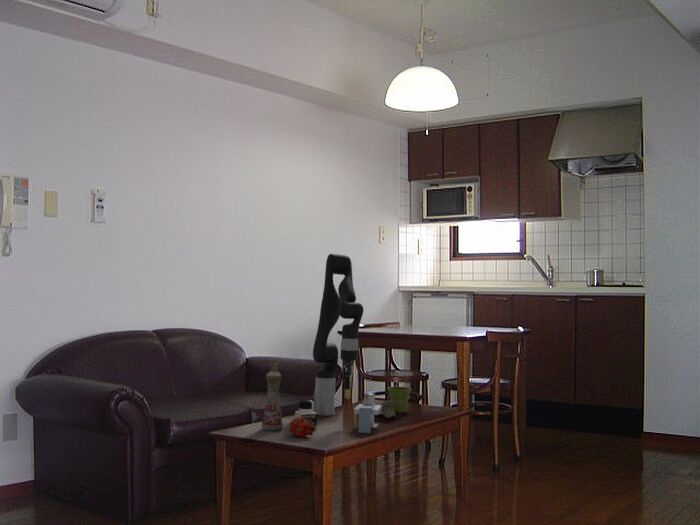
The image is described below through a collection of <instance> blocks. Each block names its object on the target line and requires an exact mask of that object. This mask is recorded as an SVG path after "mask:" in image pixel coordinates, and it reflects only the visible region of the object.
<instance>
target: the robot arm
mask: <svg viewBox="0 0 700 525" xmlns="http://www.w3.org/2000/svg"><path fill="white" fill-rule="evenodd" d="M334 275H340V276H343V279H342V280H341V281H340V282H339V285H338V288H337V289H338V290H337V289H336V286H335V283H334ZM353 282H354V281H353V265H352V260H351V257H350V256H348V255H346V254H338V253H329V254H328V255H327V257H326V263H325V274H324V286H323V292H322V299H321V302H320V303H321V304H320V310H319V313H320V314H319V318H318V319H319V320H318V326H317V330H316V335H315V339H314V343H313V348H312V358H313V360H314V362H315V363H317V364H323V365H322V367H320V368H319V369H318V370H316V371H315V390H314V391H315V393H314V396H313V402H314V404H313V412H315V413H317V416H323V417H324V416H327V417H328V416H334V415H335V409H336V408H335V402H336V401H335V400H336V396H335V395H336V375H337V371H338V364H339V363H338V362H339V350H338V349H339V348H338V346H337V345H336V344H335V343H334V342H328V339H329V335H330V334H331V331H332V330H333V328H334V327H335V326H336V324H337V322H338V321H339V318H340V317H341V318H342V319H347V320H352V322H351V323H347V324H346V323H345V324H343V325H342V329H341V340H340V360H342V361H344V364H343V380H344V390H345V389H348V390H349V389H350V380H351V381H352V380H353V376H354V375H353V374H354V368H355V364H354V362H353V361H358V360H359V328H360V324H361V321H362V318H363V314H364V307H363V305H362V303H361V302H356V301H357V297H356V296H357V295H356V293H355V289H354V283H353ZM346 375H348V377H346ZM350 378H351V379H350Z"/></svg>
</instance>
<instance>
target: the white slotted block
mask: <svg viewBox="0 0 700 525" xmlns="http://www.w3.org/2000/svg"><path fill="white" fill-rule="evenodd" d="M402 402H404V401H398V402H395V401H393V400H390V399H388V400H387V401H384V402H382V403H380V404H379V405H382V410H381V411H380V413H379V414H381V413H382V414H383V416H384V417H385V418H387V419H389V418H393V417H394V416H396V415H397V414H396V412H395V411H394V408H393V406H395V405H397V404H399V403H402Z"/></svg>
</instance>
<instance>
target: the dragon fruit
mask: <svg viewBox="0 0 700 525" xmlns="http://www.w3.org/2000/svg"><path fill="white" fill-rule="evenodd" d="M287 430H288V431H289V432H290V433H292V435H293V437H300V438H302V439H307V438H309V437H308V436H312V435H313V434H314V432H315V431H316V430H315V428H314V426H313V425H312V423H311V422H310V421H308V420H306V419H305V418H303V417H302V418H299V417H297V418H295V417H294V418H293V419H292V420H291V421H290V422H289V426H288V428H287Z"/></svg>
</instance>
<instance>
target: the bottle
mask: <svg viewBox="0 0 700 525" xmlns="http://www.w3.org/2000/svg"><path fill="white" fill-rule="evenodd" d="M269 366H270V367H269V368H270V371H268V372H267V373H266V376H265V377H266V387H267V394H266V395H267V396H266V399H265V406H264V410H263V416H262V417H263V418H262V421H261V422H262V423H261V428H262V429H263V431H271V432H274V431H281V430H283V427H284V424H283V418H282V410H281V402H280V395H279V394H280V393H279V391H280V384H281V379H282V374H281V373H280V372H279V363H278V362H275V361H274V362H270V364H269Z"/></svg>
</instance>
